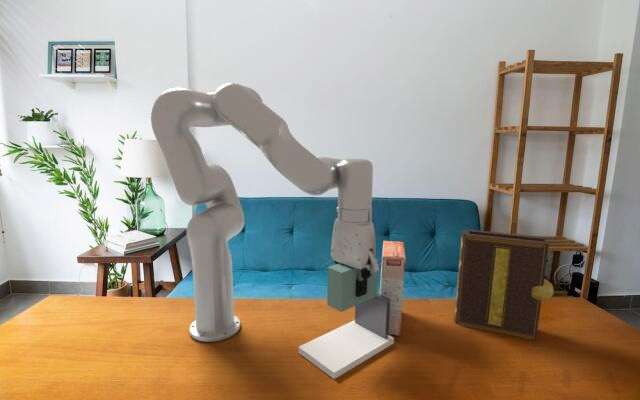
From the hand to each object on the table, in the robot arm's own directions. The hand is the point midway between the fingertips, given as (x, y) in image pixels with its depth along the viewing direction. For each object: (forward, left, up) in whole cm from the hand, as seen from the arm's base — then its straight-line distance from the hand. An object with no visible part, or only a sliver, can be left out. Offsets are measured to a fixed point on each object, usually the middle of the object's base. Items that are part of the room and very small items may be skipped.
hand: (352, 290), depth 84 cm
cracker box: (-1, +16, -14) cm, 22 cm away
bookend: (0, +7, -13) cm, 15 cm away
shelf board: (0, -1, -14) cm, 14 cm away
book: (+19, +36, -14) cm, 44 cm away
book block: (0, 0, -2) cm, 2 cm away
